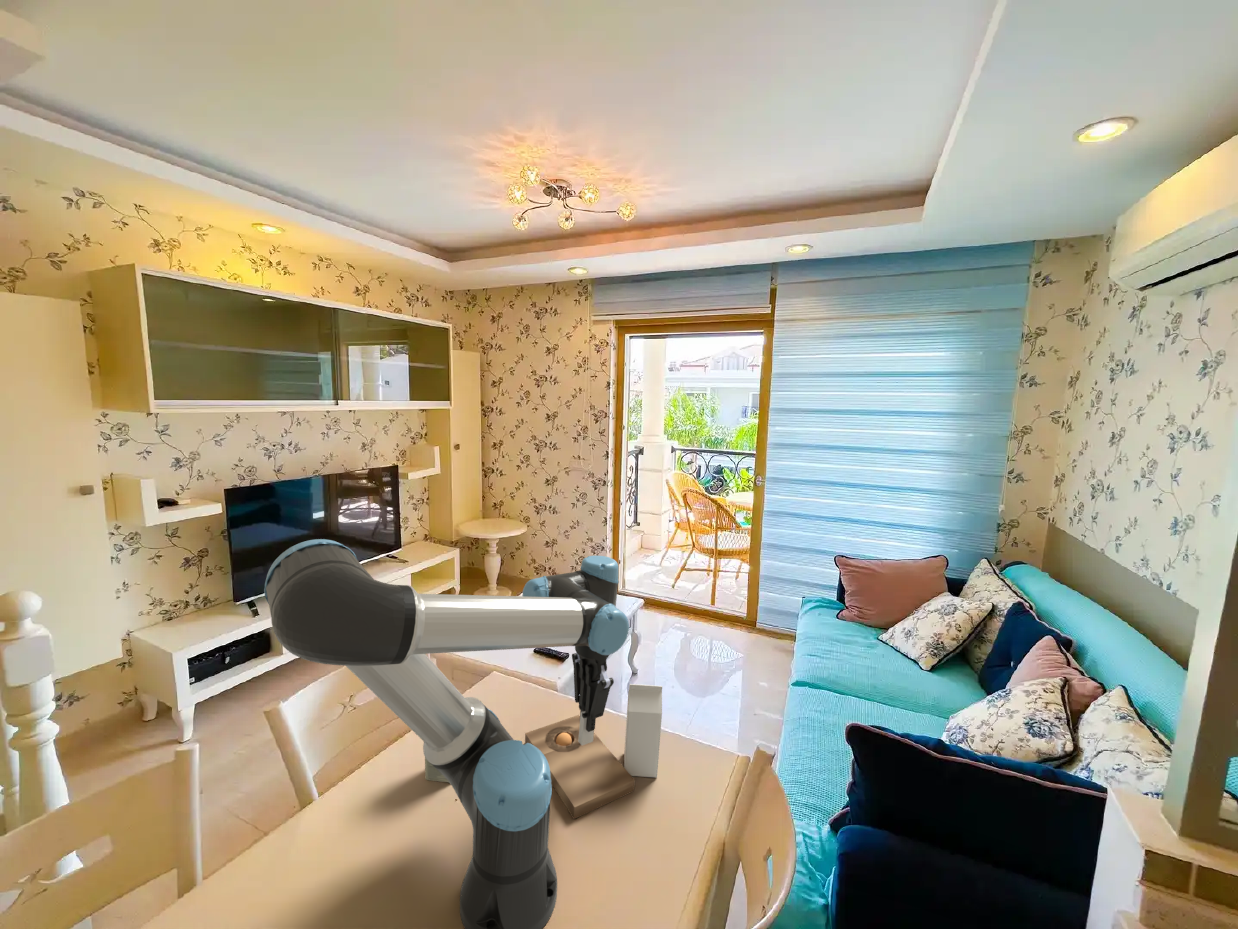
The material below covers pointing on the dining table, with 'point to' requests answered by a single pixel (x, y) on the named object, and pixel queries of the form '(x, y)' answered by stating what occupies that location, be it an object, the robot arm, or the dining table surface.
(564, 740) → the ball
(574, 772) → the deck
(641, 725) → the milk carton
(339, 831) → the dining table surface
